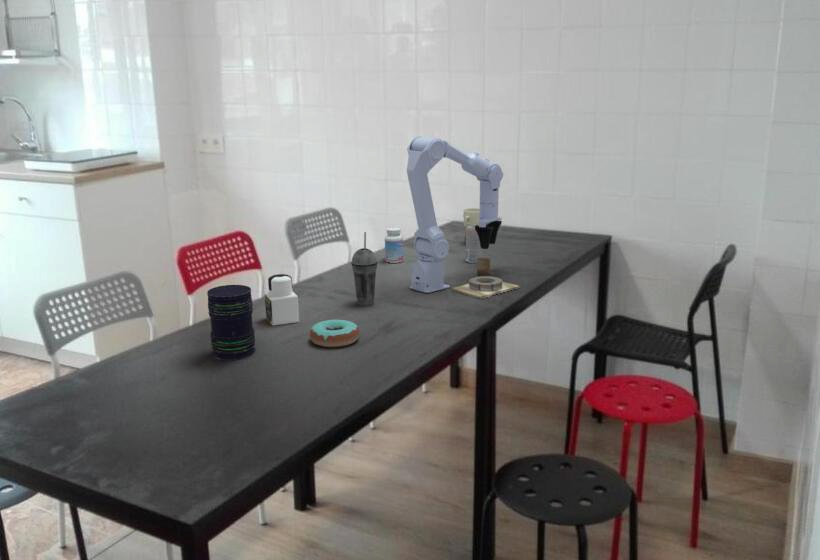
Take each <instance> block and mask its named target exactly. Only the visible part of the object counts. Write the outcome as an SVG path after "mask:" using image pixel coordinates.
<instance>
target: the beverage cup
mask: <svg viewBox="0 0 820 560" xmlns="http://www.w3.org/2000/svg"><path fill="white" fill-rule="evenodd" d="M363 237H364V238H363V248H360V249H357V250H356V251H355V252H354V253H353V255H352V257H351V262H350V265H351V268H352V271H353V277H354V279H353V280H354V286H355V287H354V288H355V294H356V301H357V302H356V303H357V304H358V305H359V306H362V307H363V306H365V307H366V306H367V307H368V306H371V305H373V304H374V303H375V302H374V301H375V294H376V293H375V292H376V277H377V268H378V259H377V256H376V254H375V252H373V251H372V250H371V249H369V248H367V231H364V233H363Z"/></svg>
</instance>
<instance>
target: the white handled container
mask: <svg viewBox="0 0 820 560" xmlns="http://www.w3.org/2000/svg"><path fill="white" fill-rule="evenodd" d="M267 280H268V281H267V285H268V291H266V292H264V303H265V318H266V320H267V321H268V323H270V325H272V326H273V327H274V326H279V325H280V326H281V325H288V324H294V323H299V322H300V313H299V310H300V309H299V296H298V295H297V294H296V293H295V292H294V291H293V290H294V289H293V277H292V276H291V275H289V274H284V273H279V274H273V275H271V276H269V277H268V278H267Z"/></svg>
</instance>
